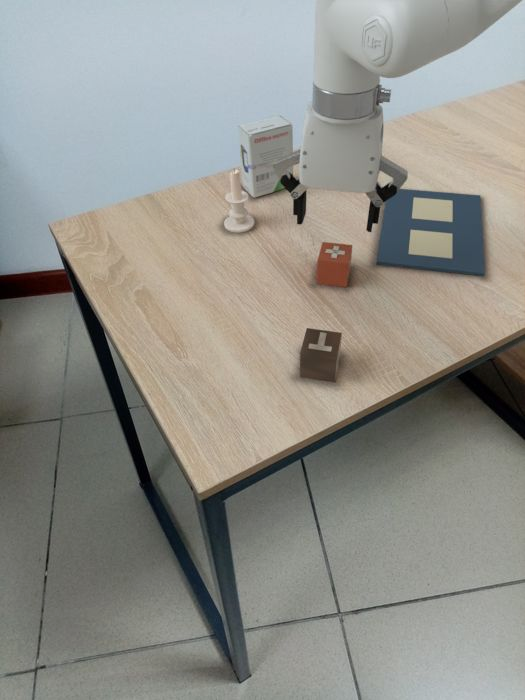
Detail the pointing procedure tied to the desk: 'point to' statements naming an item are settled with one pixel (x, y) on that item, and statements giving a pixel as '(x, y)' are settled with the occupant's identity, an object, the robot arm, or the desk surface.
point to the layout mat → (432, 232)
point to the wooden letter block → (320, 354)
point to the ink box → (264, 153)
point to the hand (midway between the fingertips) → (335, 222)
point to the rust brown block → (334, 264)
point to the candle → (237, 207)
